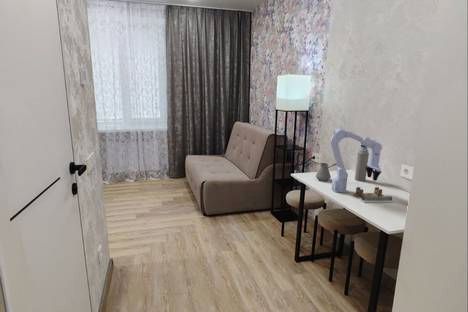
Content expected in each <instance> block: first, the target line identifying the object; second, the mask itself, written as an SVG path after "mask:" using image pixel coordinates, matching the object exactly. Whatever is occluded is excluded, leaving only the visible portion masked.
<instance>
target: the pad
mask: <svg viewBox="0 0 468 312" xmlns="http://www.w3.org/2000/svg"><path fill="white" fill-rule="evenodd" d="M361 198H362V197H358V199H359V200H360V201H362V202H363V203H365V204H366V203H378V204H379V203H395V200H393V199H392V200H362V199H361Z"/></svg>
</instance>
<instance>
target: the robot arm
mask: <svg viewBox="0 0 468 312" xmlns="http://www.w3.org/2000/svg"><path fill="white" fill-rule="evenodd" d="M344 138H345V139H347V138H350V139H353V140H355V141H357V142H360V145H364V146H366V147H367V149H371V151H370V154H369V156H370V157H369V162H368V163H367V167H365V168H366V170H367V172H366V177H367V178H372V181H374V182H375V181H378V178H379V176H380V175H381V173H382V169H381V166H380V165H379V163H380V157H381V151H382V149H383V146H382V144H381V143H380V142H378V141H376V139H375V140H374V139H371V138H370V137H369V136H363V137H362V136H360V135H357V134H356V133H354V132H352V131H350V130H346V129H344V128H342V127H341V128H340V127H337V128H336V129H335V130H334V131H333V133H332V135H331V139H330V141H329V143H330V147H331V150H332V153H333V157H334V160H335V164H336V165H335V166H336V169H337V170H336V173H337V176H336V177H335V178H332V179H331V180H332V181H331V187H330V189H331V190H332V191H333V192H334V193H349V191H348V190H347V187H348V186H347V185H348V177H349V174H348V172H347V170H346V168H345V165H344V164H345V163H343V162H344V161H343V157H342V153H341V150H340V147H339V143H340V142H341V141H342V140H344Z"/></svg>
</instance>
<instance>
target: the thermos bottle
mask: <svg viewBox="0 0 468 312" xmlns="http://www.w3.org/2000/svg"><path fill="white" fill-rule="evenodd" d="M369 156H370V152H369V148H368V147H366V146H364V145H362V144H360V148H359V150H358V152H357V157H356V165H355V173H354V180H355V181H357V182H365V181H366V178H367V170H366V168H365V167H367V163H369V158H370V157H369Z"/></svg>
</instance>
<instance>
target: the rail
mask: <svg viewBox="0 0 468 312" xmlns="http://www.w3.org/2000/svg"><path fill="white" fill-rule="evenodd" d="M360 198H361V199H362V200H393V197H392V196H391V195H384V196H362V197H360Z"/></svg>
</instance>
